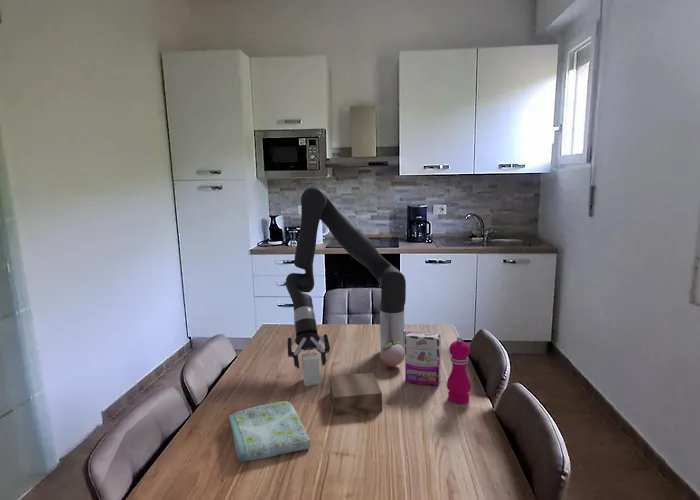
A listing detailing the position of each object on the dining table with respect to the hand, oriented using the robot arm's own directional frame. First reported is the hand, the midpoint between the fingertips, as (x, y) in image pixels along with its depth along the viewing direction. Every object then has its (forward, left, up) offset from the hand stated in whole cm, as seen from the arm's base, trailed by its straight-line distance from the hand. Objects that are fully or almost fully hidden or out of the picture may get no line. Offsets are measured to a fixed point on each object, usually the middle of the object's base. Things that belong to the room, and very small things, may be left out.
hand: (310, 366), depth 149 cm
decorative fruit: (-30, -4, -6) cm, 31 cm away
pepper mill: (-42, +23, -6) cm, 48 cm away
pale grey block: (0, -1, -6) cm, 6 cm away
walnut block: (-11, +16, -6) cm, 20 cm away
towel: (+16, +28, -7) cm, 33 cm away
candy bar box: (-36, +9, -6) cm, 38 cm away
